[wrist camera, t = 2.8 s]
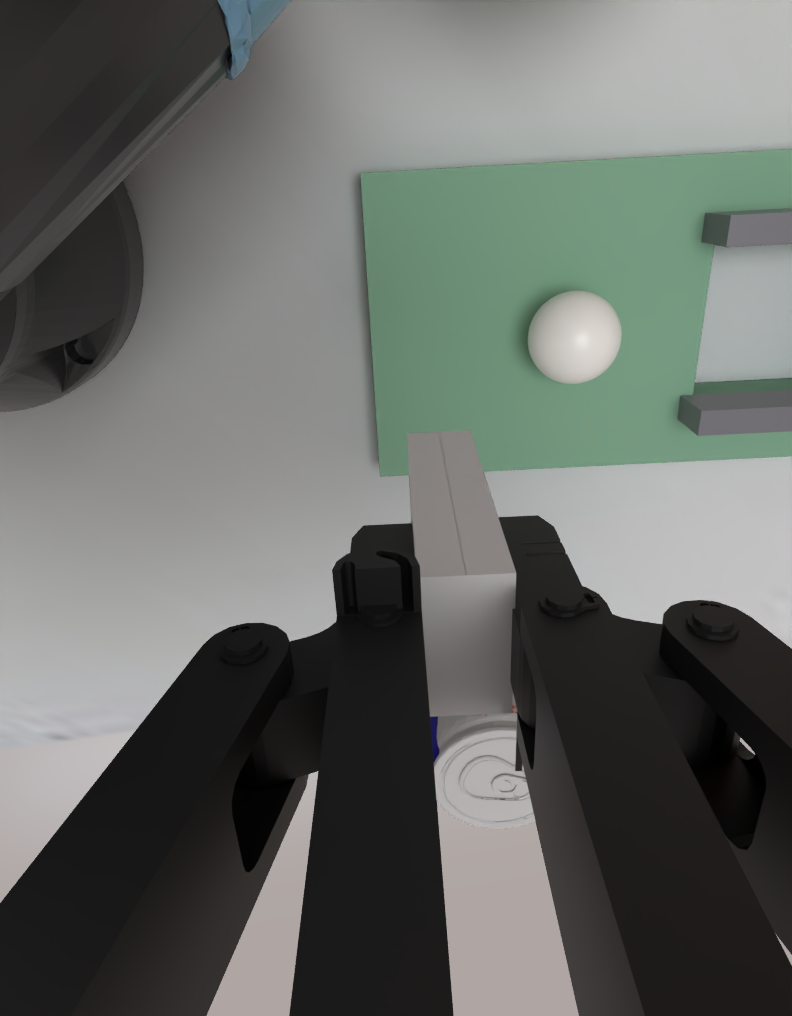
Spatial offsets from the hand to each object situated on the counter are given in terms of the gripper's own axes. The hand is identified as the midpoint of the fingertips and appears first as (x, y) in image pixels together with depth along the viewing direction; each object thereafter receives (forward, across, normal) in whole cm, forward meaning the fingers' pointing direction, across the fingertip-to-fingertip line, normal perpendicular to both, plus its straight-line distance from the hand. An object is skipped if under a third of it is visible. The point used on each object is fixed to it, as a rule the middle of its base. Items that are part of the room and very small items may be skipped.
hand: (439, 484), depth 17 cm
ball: (+17, +7, 0) cm, 18 cm away
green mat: (+19, +10, 0) cm, 21 cm away
